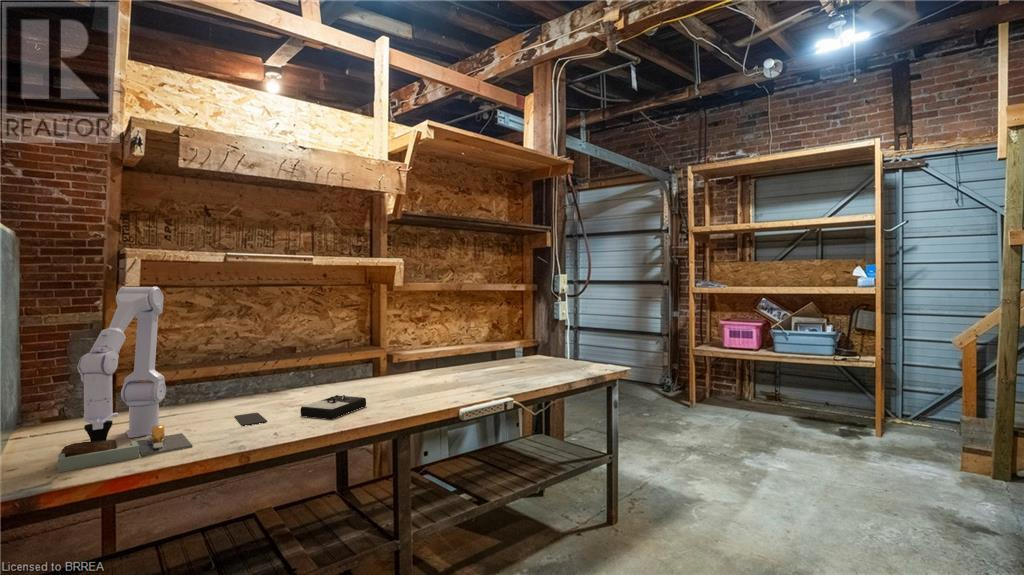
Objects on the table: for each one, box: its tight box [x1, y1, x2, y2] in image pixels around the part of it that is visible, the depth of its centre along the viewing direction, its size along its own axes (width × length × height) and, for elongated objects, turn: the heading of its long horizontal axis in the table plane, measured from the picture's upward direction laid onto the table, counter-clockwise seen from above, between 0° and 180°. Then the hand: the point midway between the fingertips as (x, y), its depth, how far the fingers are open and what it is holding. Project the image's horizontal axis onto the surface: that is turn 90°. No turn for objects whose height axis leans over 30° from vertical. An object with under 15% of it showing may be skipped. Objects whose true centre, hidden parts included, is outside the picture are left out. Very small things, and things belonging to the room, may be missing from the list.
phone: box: [234, 412, 268, 427], centre depth 165 cm, size 7×1×15 cm
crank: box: [146, 424, 165, 448], centre depth 137 cm, size 10×4×5 cm, turn 40°
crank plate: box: [136, 432, 193, 457], centre depth 139 cm, size 15×11×1 cm
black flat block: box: [299, 394, 367, 420], centre depth 176 cm, size 13×19×5 cm
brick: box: [59, 439, 118, 457], centre depth 126 cm, size 11×4×5 cm, turn 104°
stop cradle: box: [57, 440, 140, 473], centre depth 126 cm, size 6×16×3 cm, turn 133°
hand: (98, 450), depth 130 cm, fingers closed
